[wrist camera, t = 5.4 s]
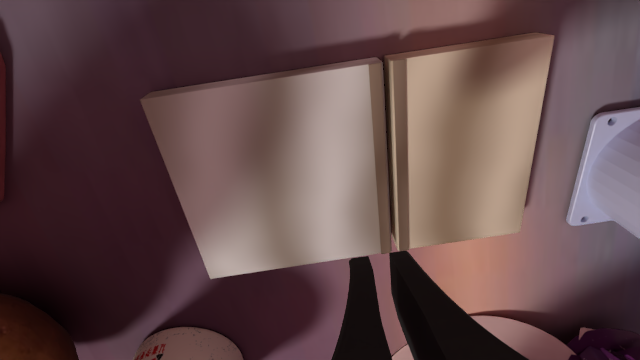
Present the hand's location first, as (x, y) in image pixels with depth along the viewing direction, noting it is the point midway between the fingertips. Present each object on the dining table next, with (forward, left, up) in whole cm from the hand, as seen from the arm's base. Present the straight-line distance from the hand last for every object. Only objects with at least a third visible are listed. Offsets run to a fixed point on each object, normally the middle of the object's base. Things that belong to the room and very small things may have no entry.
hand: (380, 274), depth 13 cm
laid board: (-6, 0, -9) cm, 11 cm away
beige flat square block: (+4, 0, -9) cm, 10 cm away
